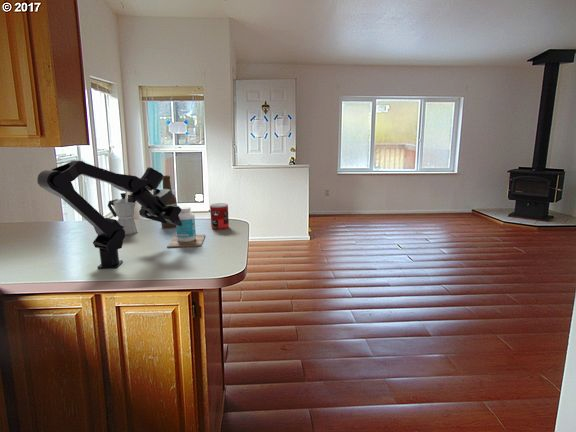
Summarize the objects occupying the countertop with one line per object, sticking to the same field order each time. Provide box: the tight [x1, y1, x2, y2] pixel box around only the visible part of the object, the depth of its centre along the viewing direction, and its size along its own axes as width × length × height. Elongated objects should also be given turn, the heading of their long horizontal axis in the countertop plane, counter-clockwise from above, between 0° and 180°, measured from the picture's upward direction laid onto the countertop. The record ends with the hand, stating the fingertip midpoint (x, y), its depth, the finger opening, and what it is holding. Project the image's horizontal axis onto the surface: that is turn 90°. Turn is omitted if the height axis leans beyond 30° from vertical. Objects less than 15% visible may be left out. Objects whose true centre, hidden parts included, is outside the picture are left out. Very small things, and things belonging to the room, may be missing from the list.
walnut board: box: [166, 234, 206, 249], centre depth 164 cm, size 16×13×1 cm
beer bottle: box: [160, 175, 178, 229], centre depth 188 cm, size 8×8×24 cm
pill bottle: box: [175, 206, 197, 242], centre depth 162 cm, size 8×7×14 cm
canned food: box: [209, 202, 230, 231], centre depth 185 cm, size 8×8×11 cm
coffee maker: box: [107, 192, 138, 236], centre depth 178 cm, size 15×9×18 cm, turn 74°
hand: (173, 223), depth 157 cm, fingers open, 9 cm apart
